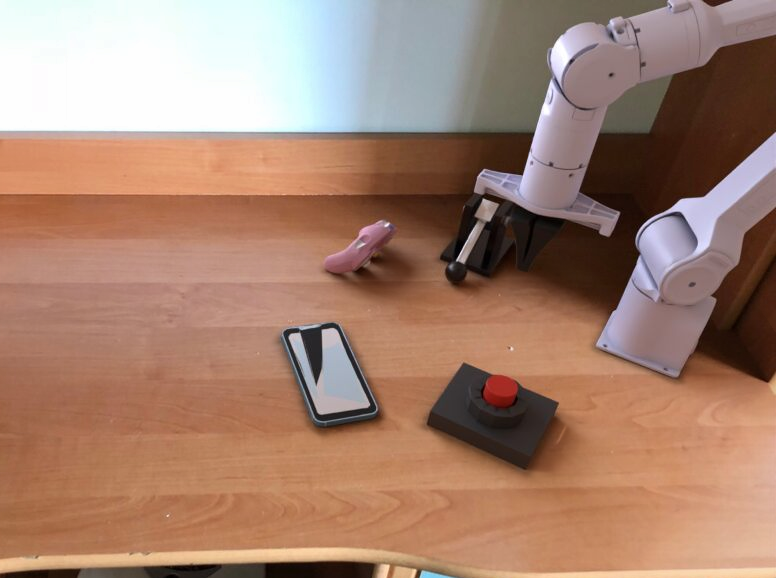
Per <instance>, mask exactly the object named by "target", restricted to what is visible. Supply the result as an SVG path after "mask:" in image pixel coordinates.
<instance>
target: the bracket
mask: <svg viewBox="0 0 776 578" xmlns="http://www.w3.org/2000/svg"><path fill="white" fill-rule="evenodd" d="M483 199H485V194H483V195H481V194H478V193H475V192H474V193H473V195H472V196H470V198H469V200H467V202H466V203H464V206H463V209H462V215H461V218H460V219H461V220H460V225H459V228H458V233H457V234H456V235H455V236H454V238H453V239H452V240H451V241H450V243H449V244H448V245H447V246H446V248H444V250H443V251H442V252H441V254H440V256H439V260H440V261H442V262H445V263H448V264H449V263H451V262H453V261H457V259H458V257H459V255H460V253H461V251H462V249H463V248H464V246H465V244H466V242H467V240H468V238H469V236H470V234H471V233H472V231H473V229H474V227H475V226H474V215H475V214H476V212H477V210H478V208H479V206H480V204H481V202H482V201H483ZM514 204H515V202H513V201H510V200H507V199H505V201H504V202H503V203H502V205H501V206H499V210H498V211H497V212H496V214H495V215H494V219H493V222H492V226H491V230H490V231H488V230H485V229H484V231H483V233H482V235H481V237H480V239H479V241H478V242H477V244H476V246H475V248H474V250H473V252H472V254H471V256H470V257H469V259H468V261H467V263H466V265H465V266H466V268H467V271H468V272H471V273H475V274H477V275H480V276H483V277H485V278H488V279H489V278H491V276H492V274H493V273H494V272H495V271H496V269H497V268H498V266H499V265H500V263H502V261H503V260H504V259H505V257H506V255H507V254H508V253H509V251H510V250H511V249H512V248H513V246H514V243H515V242H516V241H515V238H510V237H509V236H506V233H507V228H508V227H509V225H510V214H511V213H512V211H513V208H514Z"/></svg>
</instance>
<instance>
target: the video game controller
mask: <svg viewBox="0 0 776 578" xmlns="http://www.w3.org/2000/svg"><path fill="white" fill-rule="evenodd" d="M397 232H398V229H397V227H395V226H394V225H393V224H392V223H391V222H389V221H386V220H385V219H381V220H379V221H377V222H375V223H374V224H371V225H367V226H364V227H363V228H361V229H360V230H359V232H358V237H357V238H356V239H354V240H353V241H352V242H351V243H350V244H349V246H347V247H346V248H345V249H344V250H342V251H339V252H337V253H333V254H329V255H327V257H325V259H324V262H323V266H324V269H325V270H326V271H328V272H329V273H332V274H345V273H349V272H351V271H354V272H356V271H357V270H358V269H360V268H361V267H362V266H363V268H366V267H368V266H369V265H370V264H371V259H372V258H376V257H378V256H379V251H380V250H381V249H382V248H383V247H384V246H386V245H387V244H389V243H390V241H392V239H393V238H394V236H395V235H396V234H397Z"/></svg>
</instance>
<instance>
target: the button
mask: <svg viewBox="0 0 776 578" xmlns="http://www.w3.org/2000/svg"><path fill="white" fill-rule="evenodd" d="M493 375H494V376H492V377H490V378H489V379H488V380H487V382H486V386H485V389H484V392H483V397H484V399H485V401H486V402H487V403H488V404H490V405H492V406H494V407H497V408H507V407H509V406H511V405H512V404H513V402H514V400H515V397H516V394H517V391H518V386H517V384H516V382H515V381H516V380H515V379H513V378H511V377H509V376H508V375H503V374H493ZM512 379H513V380H512ZM514 380H515V381H514Z"/></svg>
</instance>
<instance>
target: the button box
mask: <svg viewBox="0 0 776 578" xmlns="http://www.w3.org/2000/svg"><path fill="white" fill-rule="evenodd" d="M494 375H495V374H492V373H490V372H488V371H485V370H483V369H482V368H481V369H480V368H478V367H476V366H473V365H471V364H469V363H466V362H465V361H464V362H462V363H461V365H460V367H459V368H458V369H457V371H456V372H455V374H454V375H453V376H452V378H451V380H450V381H449V383H448V384H447V386H446V387H445V388H444V389H443V391H442V393H441V394H440V395H439V398H438V399H437V400H436V401H435V403H434V404H433V406H432V407H431V409H430V411H429V414H428V417H427V421H426V425H427V426H429V427H430V428H432V429H435V430H437V431H440V432H442V433H444V434H446V435H448V436H450V437H452V438H455V439H457V440H459V441H461V442H464V443H465V444H468V445H469V446H472V447H474V448H477V449H478V450H480V451H483V452H485V453H487V454H490V455H492V456H494V457H496V458H498V459H500V460H502V461H504V462H506V463H508V464H512V465H513V466H515V467H518V468H520V469H522V470H524V471H526V470H527V468H528V467H529V465H530V463H531V460H532V458H533V457H534V455H535V452H536V451H537V449H538V447H539V445H540V443H541V441H542V439H543V437H544V435H545V433H546V432H547V430H548V428H549V426H550V424H551V422H552V420H553V418H554V416H555V414H556V412H557V409H558V407H559V404H560V402H559V401H557V400H554V399H552V398H549V397H547V396H545V395H542V394H540V393H537V392H535V391H532V390H530V389H528V388H526V387H524V386H522V385H521V383H519V382H518V381H517V380H515V379H513V378H511V379H512V380H514V381H515V382H516V384H517V386H518V391H517V394H516V397H515V400H514V402H513V404H512V405H511V406H509V407H507V408H497V407H494V406H492V405H490V404H488V403H487V402H486V401H485V399H484V397H483V392H484V389H485V386H486V382H487V380H488V379H489V378H490V377H492V376H494Z"/></svg>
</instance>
